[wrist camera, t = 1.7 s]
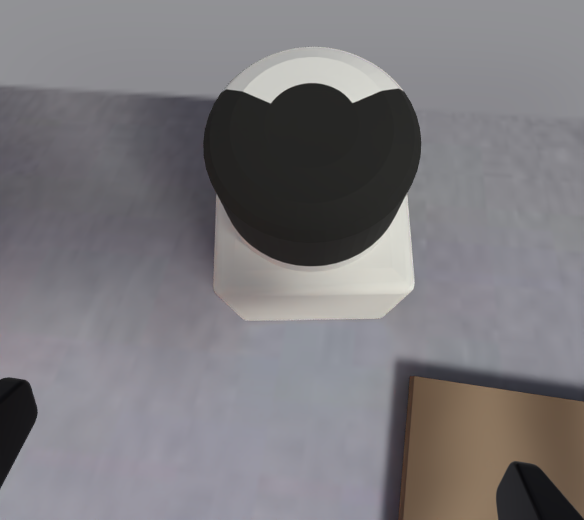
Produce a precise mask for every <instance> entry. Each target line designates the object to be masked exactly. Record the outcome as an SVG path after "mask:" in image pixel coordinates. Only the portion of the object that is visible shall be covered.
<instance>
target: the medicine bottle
mask: <svg viewBox="0 0 584 520" xmlns="http://www.w3.org/2000/svg"><path fill="white" fill-rule="evenodd" d="M203 144H204V159H205V164H206V170H207V172H208V175H209V178H210V181H211V183H212V185H213V187H214V189H215V191H216V221H215V250H214V279H213V288H214V292H215V293H216V294H217V295H218V296H219V297H220V298H221V299H222V300H223V301H224V302H225V303H226V304H227V305H228V306H229V307H231V308H232V309H233V310H234V311H235V312H236V313H237V314H238V315H239V316H240V317H241V318H242V319H244V320H247V321H265V320H325V319H379V318H382V317H384V316H385V315H386V314H387V313H388V312H389V311H390V310H391V309H392V308H393V307H395V306H396V305H397V304H398V303H399V302H400V301H401V300H402V299H403V298H404V297H406V296H407V295H408V294H409V293H410V292H411V291H412V290H413V289H414V284H415V281H414V269H413V257H412V245H411V233H410V221H409V209H408V197H407V192H408V190H409V189H410V187H411V185H412V182H413V180H414V177H415V175H416V172H417V169H418V165H419V160H420V154H421V135H420V127H419V123H418V119H417V116H416V113H415V111H414V109H413V106H412V104H411V102H410V100H409V99H408V97H407V96H406V94H405V92H404V91H403V90H402V88H401V87H400V86H399V85H398V84H397V82H396V81H395V80H394V79H393V78H391V77H390V76H389V75H388V74H387V73H386V72H385V71H383V70H382V69H380V68H379V67H378V66H376V65H374V64H373V63H371V62H369V61H367V60H365V59H363V58H361V57H359V56H357V55H354V54H351V53H349V52H346V51H342V50H337V49H333V48H324V47H303V48H295V49H289V50H285V51H281V52H278V53H275V54H273V55H270V56H268V57H265V58H263V59H261V60H260V61H258V62H256V63H254V64H252V65H251V66H249V67H248V68H246V69H245V70H243V71H242V72H241V73H240V74H238V75H237V76H236V77H235V78H234V79H233V80H232V81H231V82H230V83H229V84H228V85H227V87H225V89H224V90H223V91H222V92H221V94H220V95H219V97H218V99H217V100H216V102H215V103H214V105H213V108H212V110H211V112H210V114H209V117H208V120H207V124H206V128H205V134H204V142H203Z"/></svg>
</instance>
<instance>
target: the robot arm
mask: <svg viewBox="0 0 584 520" xmlns="http://www.w3.org/2000/svg"><path fill="white" fill-rule="evenodd" d="M36 418H37V405H36V402H35V399H34V395H33V392H32V389H31V386H30V383H29V382H28V381H26V380H23V379H17V378H9V377H8V378H3V379H1V380H0V488H1V486H2V485H3V483H4V481H5V479H6V477H7V475H8V473H9V471H10V469H11V467H12V465H13V463H14V462H15V460H16V458H17V456H18V454H19V452H20V450H21V448H22V446H23V444H24V442H25V440H26V439H27V437H28V435H29V433H30V431H31V429H32V427H33V425H34V423H35V421H36ZM496 506H497V514H498V520H584V518H583V517H582V516H581V515H580V514H579V512H578V511H577V510H576V509H575V508H574V507H573V505H572V504H571V503H570V502H569V501H568V500H567V498H566V497H565V496H564V495H563V494H562V493H561V491H560V490H559V489H558V488H557V487H556V486H555V484H554V483H553V482H552V481H551V480H550V479H549V477H548V476H547V475H546V474H545V473H544V472H543V470H542V469H541V468H539V467H538V466H537V465H535V464H531V463H525V462H519V461H513V462H511V463H510V464H509V466H508V468H507V470H506V472H505V474H504V476H503V478H502V480H501V482H500V484H499V485H498V488H497V492H496Z"/></svg>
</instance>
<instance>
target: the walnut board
mask: <svg viewBox="0 0 584 520" xmlns="http://www.w3.org/2000/svg"><path fill="white" fill-rule="evenodd" d="M513 461H519V462H525V463H531V464H535V465H537V466H538V467H539V468H541V469H542V470H543V472H544V473H545V474H546V475H547V476H548V477H549V479H550V480H551V481H552V482H553V483H554V484H555V486H556V487H557V488H558V489H559V490H560V491H561V493H562V494H563V495H564V496H565V497H566V498H567V500H568V501H569V502H570V503H571V504H572V505H573V507H574V508H575V509H576V510H577V511H578V512H579V514H580V515H581V516H582V517H583V518H584V402H583V401H576V400H569V399H563V398H556V397H549V396H543V395H536V394H529V393H523V392H516V391H510V390H503V389H496V388H490V387H483V386H476V385H470V384H463V383H456V382H450V381H443V380H436V379H430V378H423V377H417V376H410V381H409V394H408V406H407V419H406V431H405V443H404V456H403V468H402V481H401V493H400V506H399V518H398V520H498V514H497V506H496V492H497V488H498V485H499V484H500V482H501V480H502V478H503V476H504V474H505V472H506V470H507V468H508V466H509V464H510V463H511V462H513Z"/></svg>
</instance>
